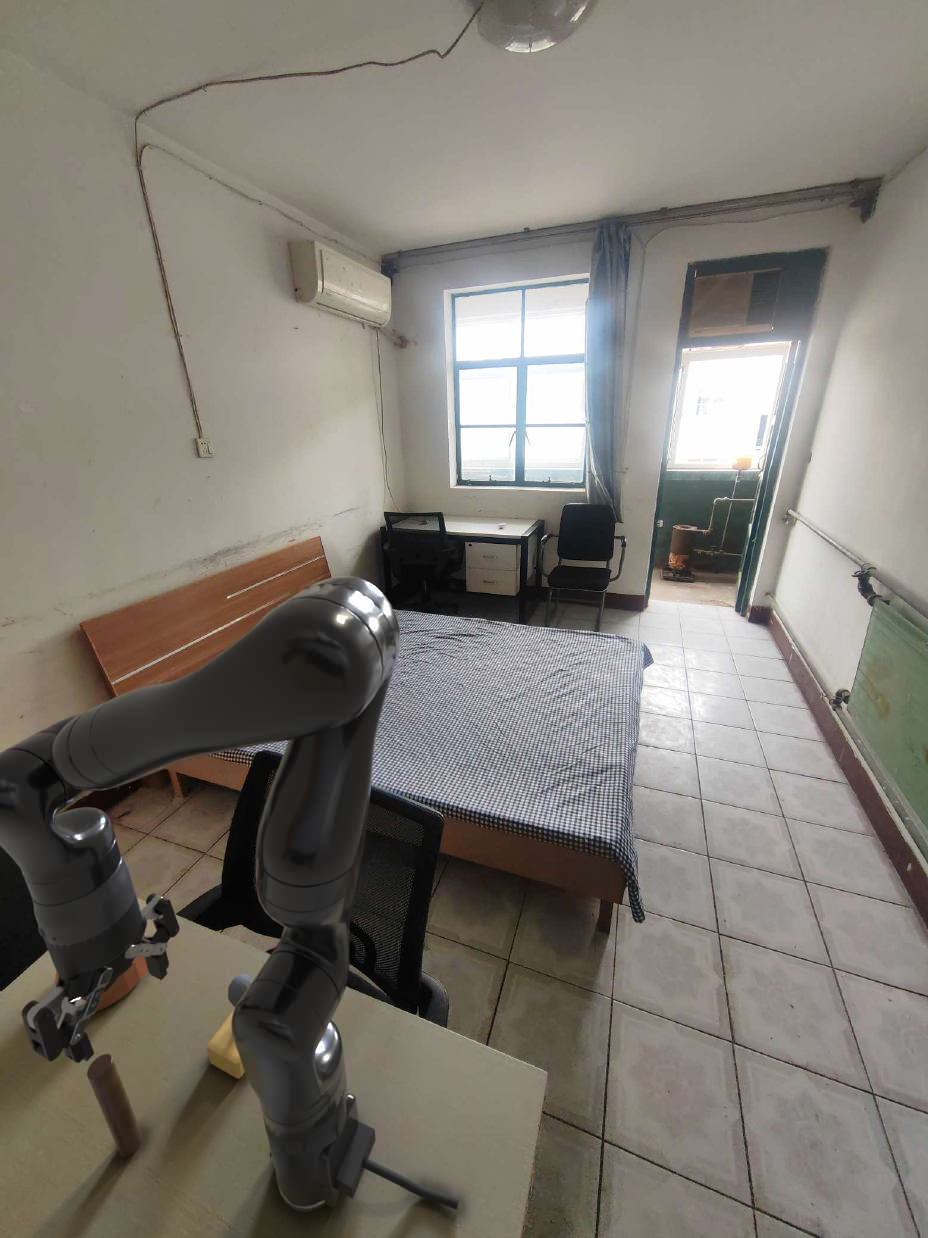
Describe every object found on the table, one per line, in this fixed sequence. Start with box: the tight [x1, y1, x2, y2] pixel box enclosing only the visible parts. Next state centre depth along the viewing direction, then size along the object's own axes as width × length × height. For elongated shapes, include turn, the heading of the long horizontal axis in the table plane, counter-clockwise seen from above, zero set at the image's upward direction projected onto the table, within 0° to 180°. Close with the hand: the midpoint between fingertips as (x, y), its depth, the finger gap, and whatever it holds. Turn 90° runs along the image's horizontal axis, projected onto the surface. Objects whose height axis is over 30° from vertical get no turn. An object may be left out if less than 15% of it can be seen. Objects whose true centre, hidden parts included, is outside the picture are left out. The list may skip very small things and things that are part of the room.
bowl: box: [54, 930, 148, 1012], centre depth 78 cm, size 12×12×5 cm
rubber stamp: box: [206, 973, 254, 1080], centre depth 69 cm, size 10×6×12 cm, turn 160°
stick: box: [86, 1053, 143, 1158], centre depth 57 cm, size 2×2×16 cm
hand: (124, 1012), depth 53 cm, fingers open, 8 cm apart
